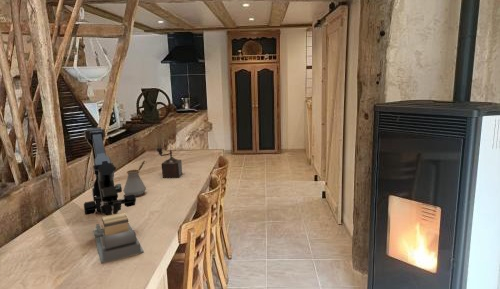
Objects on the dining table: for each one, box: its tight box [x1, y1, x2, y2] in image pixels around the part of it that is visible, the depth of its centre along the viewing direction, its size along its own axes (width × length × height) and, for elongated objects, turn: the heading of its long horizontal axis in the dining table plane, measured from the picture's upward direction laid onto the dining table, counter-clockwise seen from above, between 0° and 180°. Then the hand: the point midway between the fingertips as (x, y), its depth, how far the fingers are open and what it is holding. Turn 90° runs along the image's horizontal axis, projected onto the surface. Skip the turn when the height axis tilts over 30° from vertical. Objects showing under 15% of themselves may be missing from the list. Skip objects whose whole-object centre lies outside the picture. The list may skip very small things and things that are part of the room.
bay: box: [92, 222, 144, 264], centre depth 133 cm, size 29×15×10 cm, turn 29°
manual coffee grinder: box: [156, 146, 183, 179], centre depth 221 cm, size 16×11×18 cm
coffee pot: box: [122, 160, 148, 198], centre depth 193 cm, size 21×12×15 cm, turn 173°
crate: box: [101, 211, 129, 236], centre depth 131 cm, size 7×8×10 cm
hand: (114, 223), depth 134 cm, fingers closed, pressing on crate
